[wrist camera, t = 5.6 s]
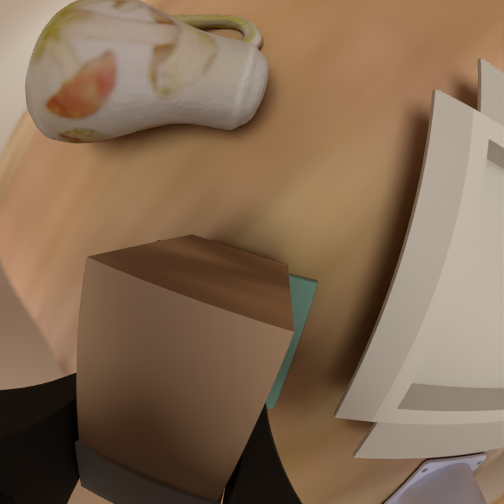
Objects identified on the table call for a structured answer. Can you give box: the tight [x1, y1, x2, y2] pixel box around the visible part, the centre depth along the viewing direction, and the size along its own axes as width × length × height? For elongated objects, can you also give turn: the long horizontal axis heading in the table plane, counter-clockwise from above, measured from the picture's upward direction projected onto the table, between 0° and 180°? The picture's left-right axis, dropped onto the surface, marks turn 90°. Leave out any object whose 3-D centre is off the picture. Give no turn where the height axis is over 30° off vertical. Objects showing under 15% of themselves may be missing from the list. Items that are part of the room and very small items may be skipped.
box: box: [75, 235, 294, 504], centre depth 9 cm, size 4×8×7 cm, turn 163°
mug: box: [25, 0, 269, 143], centre depth 10 cm, size 8×10×10 cm
